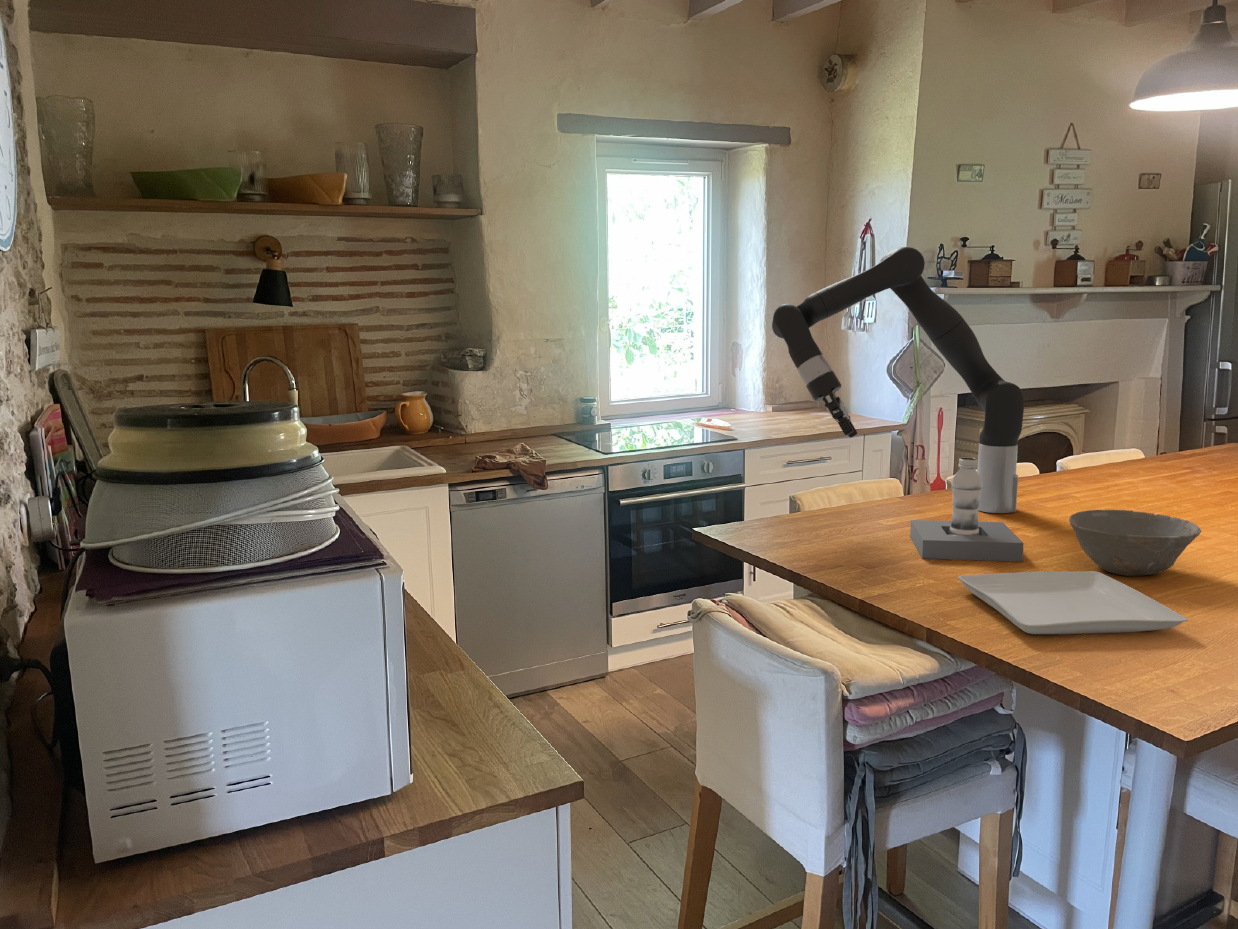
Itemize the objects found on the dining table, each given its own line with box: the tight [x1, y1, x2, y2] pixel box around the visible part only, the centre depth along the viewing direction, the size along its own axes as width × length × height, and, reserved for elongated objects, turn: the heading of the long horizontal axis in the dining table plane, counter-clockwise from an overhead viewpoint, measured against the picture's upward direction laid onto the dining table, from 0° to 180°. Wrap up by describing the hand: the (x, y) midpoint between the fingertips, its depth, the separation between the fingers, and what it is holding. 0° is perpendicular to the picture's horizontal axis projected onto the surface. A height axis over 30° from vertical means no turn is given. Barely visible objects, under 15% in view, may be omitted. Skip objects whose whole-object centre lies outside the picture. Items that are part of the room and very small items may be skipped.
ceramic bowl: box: [1068, 509, 1202, 577], centre depth 180 cm, size 22×23×10 cm
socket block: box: [909, 519, 1025, 562], centre depth 198 cm, size 20×18×4 cm
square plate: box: [957, 570, 1188, 635], centre depth 158 cm, size 27×27×4 cm
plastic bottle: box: [948, 456, 983, 536], centre depth 197 cm, size 6×7×20 cm
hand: (851, 434), depth 219 cm, fingers open, 8 cm apart
